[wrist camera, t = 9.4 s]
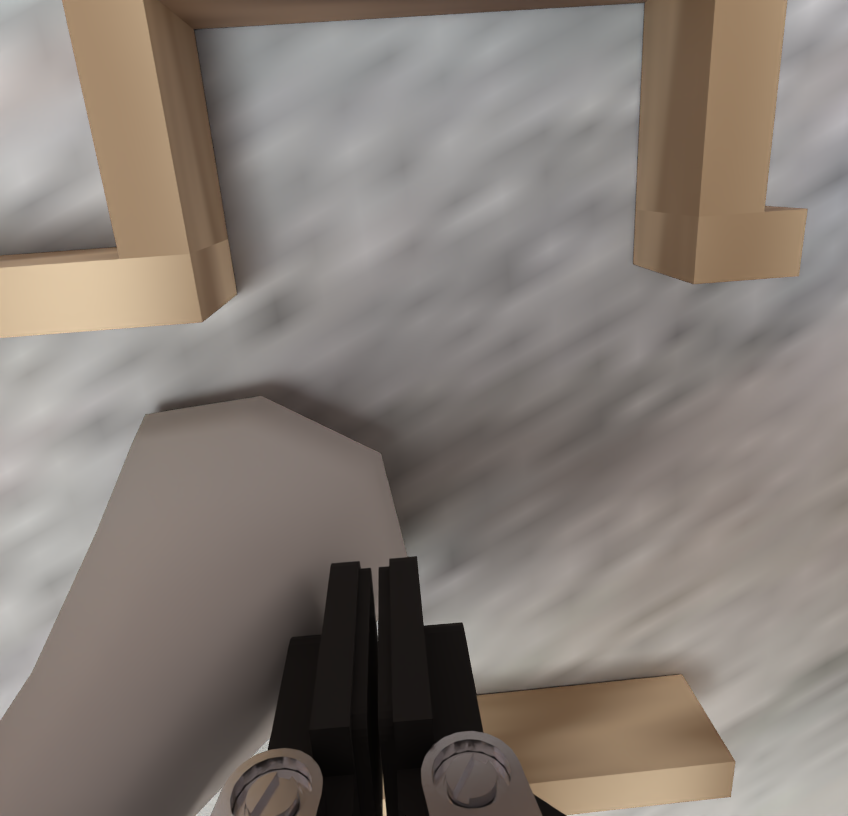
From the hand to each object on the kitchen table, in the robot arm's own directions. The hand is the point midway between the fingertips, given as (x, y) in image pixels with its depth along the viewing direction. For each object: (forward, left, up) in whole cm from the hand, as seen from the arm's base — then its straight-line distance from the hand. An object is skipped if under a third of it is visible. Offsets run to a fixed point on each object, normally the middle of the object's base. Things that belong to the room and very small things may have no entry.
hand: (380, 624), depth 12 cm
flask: (+3, 0, -4) cm, 5 cm away
